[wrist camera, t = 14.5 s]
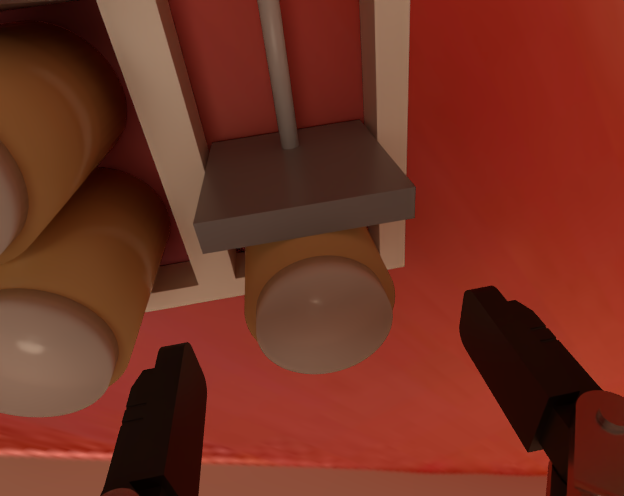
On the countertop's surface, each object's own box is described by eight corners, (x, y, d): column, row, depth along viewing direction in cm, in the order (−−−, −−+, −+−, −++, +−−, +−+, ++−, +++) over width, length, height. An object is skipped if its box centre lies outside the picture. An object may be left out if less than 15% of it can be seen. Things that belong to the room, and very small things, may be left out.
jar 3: (236, 160, 20) (227, 279, 12) (342, 144, 21) (406, 249, 12) (256, 249, 23) (260, 392, 15) (348, 234, 24) (401, 366, 15)
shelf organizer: (-340, -296, 11) (-1321, -768, 4) (389, -370, 12) (581, -852, 5) (53, 304, 24) (-27, 433, 17) (391, 245, 25) (446, 345, 18)
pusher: (157, -63, 15) (83, -103, 8) (349, -89, 15) (427, -146, 9) (218, 165, 20) (202, 254, 13) (360, 142, 20) (414, 218, 14)
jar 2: (26, 178, 19) (-139, 320, 11) (148, 158, 20) (76, 283, 11) (80, 273, 23) (-15, 436, 15) (184, 255, 23) (148, 405, 15)
